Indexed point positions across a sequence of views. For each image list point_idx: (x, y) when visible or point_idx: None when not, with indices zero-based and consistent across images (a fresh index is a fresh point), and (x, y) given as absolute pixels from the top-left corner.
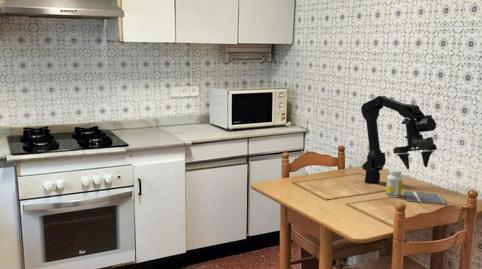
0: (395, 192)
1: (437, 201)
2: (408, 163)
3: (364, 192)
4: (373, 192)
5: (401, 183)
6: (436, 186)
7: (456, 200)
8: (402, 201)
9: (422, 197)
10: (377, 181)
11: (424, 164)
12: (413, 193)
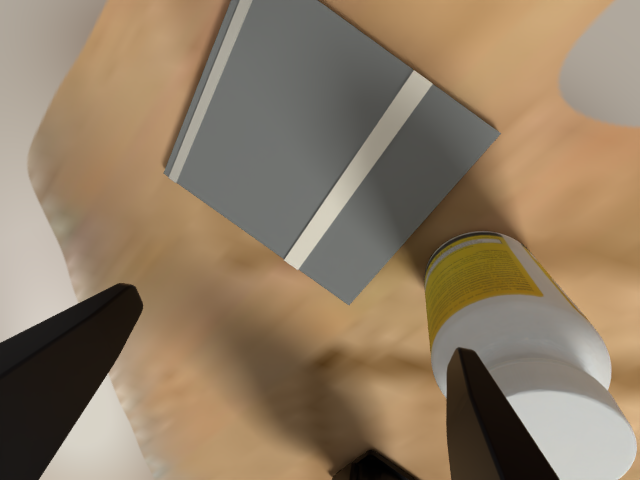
0: (525, 252)
1: (282, 30)
2: (506, 452)
3: (618, 398)
4: None
5: (482, 280)
6: None
7: (121, 44)
8: (540, 144)
9: (322, 154)
10: (364, 468)
11: (116, 342)
12: (316, 246)
